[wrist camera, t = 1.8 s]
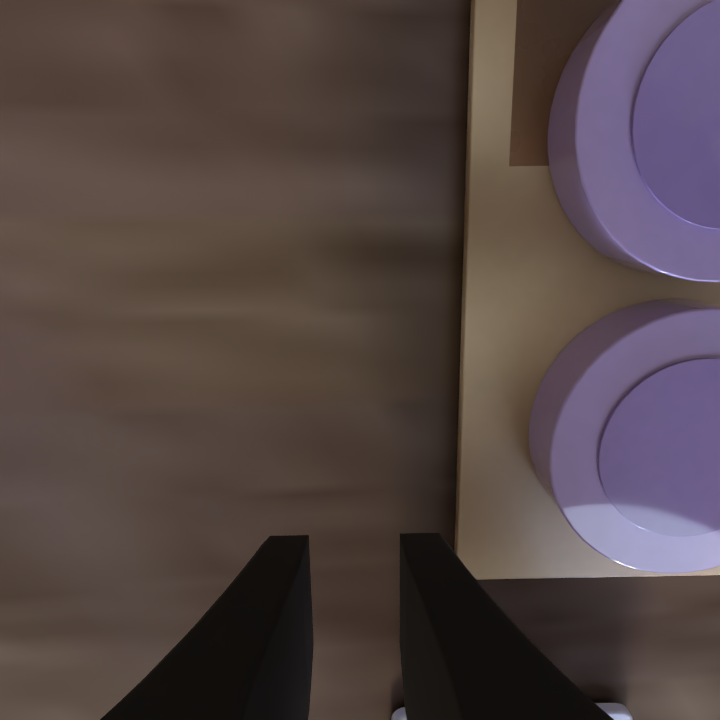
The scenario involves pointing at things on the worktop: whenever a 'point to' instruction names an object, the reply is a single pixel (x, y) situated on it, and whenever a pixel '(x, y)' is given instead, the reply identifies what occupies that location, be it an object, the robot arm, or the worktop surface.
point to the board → (526, 293)
